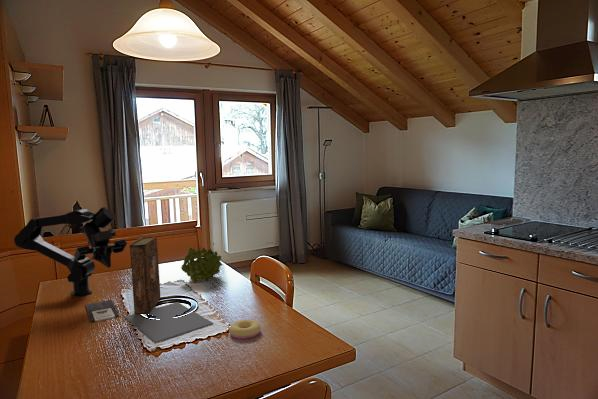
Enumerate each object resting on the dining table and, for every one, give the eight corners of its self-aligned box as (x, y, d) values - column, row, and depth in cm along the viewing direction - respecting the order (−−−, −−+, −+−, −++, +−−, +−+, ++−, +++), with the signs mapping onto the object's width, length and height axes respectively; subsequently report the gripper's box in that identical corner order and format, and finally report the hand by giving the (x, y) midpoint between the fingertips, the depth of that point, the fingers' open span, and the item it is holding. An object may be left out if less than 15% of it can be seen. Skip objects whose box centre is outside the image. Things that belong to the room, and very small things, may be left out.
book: (149, 314, 146) (144, 244, 144) (133, 314, 146) (128, 245, 143) (160, 298, 162) (156, 236, 160) (146, 299, 162) (142, 236, 159)
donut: (227, 337, 134) (236, 345, 126) (224, 324, 134) (233, 331, 125) (255, 326, 138) (266, 333, 130) (252, 313, 138) (263, 319, 130)
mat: (124, 317, 144) (124, 316, 144) (177, 303, 158) (177, 302, 158) (155, 343, 125) (155, 341, 125) (213, 324, 139) (213, 322, 139)
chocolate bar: (110, 299, 160) (119, 315, 145) (111, 302, 160) (119, 317, 145) (85, 304, 155) (90, 321, 140) (85, 306, 156) (90, 323, 141)
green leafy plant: (200, 261, 199) (222, 241, 194) (210, 289, 191) (234, 269, 186) (171, 257, 184) (194, 235, 179) (181, 286, 176) (205, 265, 171)
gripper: (75, 226, 153) (90, 260, 147) (123, 219, 167) (139, 250, 161) (67, 244, 159) (82, 277, 153) (115, 236, 173) (130, 266, 167)
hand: (109, 267), depth 159 cm, fingers closed
